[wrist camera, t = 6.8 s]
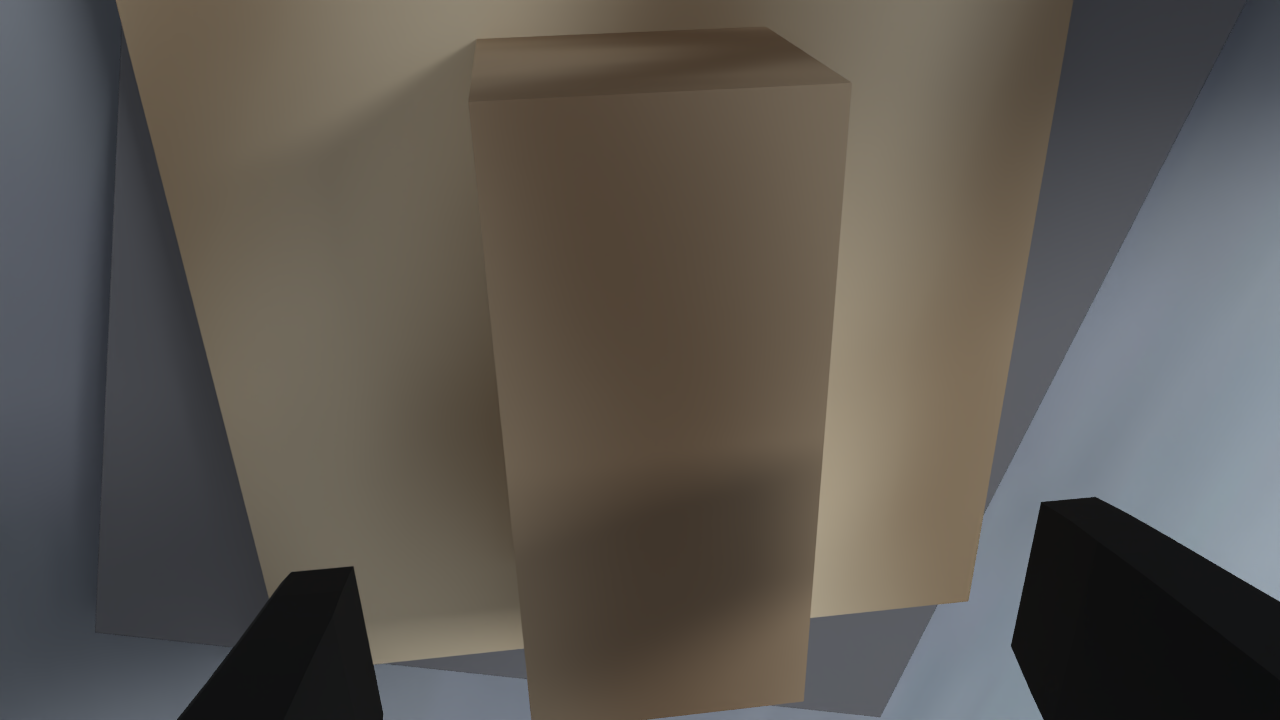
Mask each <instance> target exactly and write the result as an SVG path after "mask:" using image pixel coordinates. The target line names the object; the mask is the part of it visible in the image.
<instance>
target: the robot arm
mask: <svg viewBox="0 0 1280 720" xmlns="http://www.w3.org/2000/svg"><path fill="white" fill-rule="evenodd" d="M1011 647H1012V649H1013V652H1014V654H1015V656H1016V659H1017V661H1018V663H1019V666H1020V668H1021V670H1022V673H1023V675H1024V677H1025V680H1026V682H1027V684H1028V687H1029V689H1030V691H1031V694H1032V696H1033V698H1034V700H1035V702H1036V704H1037V706H1038V709H1039V711H1040V713H1041V715H1042V717H1043V719H1044V720H1280V602H1279V601H1278V600H1276V599H1274V598H1272V597H1271V596H1269V595H1267V594H1266V593H1264V592H1262V591H1260V590H1259V589H1257V588H1255V587H1253V586H1252V585H1250V584H1248V583H1247V582H1245V581H1243V580H1241V579H1240V578H1238V577H1236V576H1235V575H1233V574H1231V573H1229V572H1228V571H1226V570H1224V569H1223V568H1221V567H1219V566H1217V565H1216V564H1214V563H1212V562H1211V561H1209V560H1207V559H1205V558H1204V557H1202V556H1200V555H1199V554H1197V553H1195V552H1194V551H1192V550H1190V549H1188V548H1187V547H1185V546H1183V545H1182V544H1180V543H1178V542H1176V541H1175V540H1173V539H1171V538H1170V537H1168V536H1166V535H1164V534H1163V533H1161V532H1159V531H1157V530H1156V529H1154V528H1152V527H1150V526H1149V525H1147V524H1145V523H1143V522H1142V521H1140V520H1138V519H1136V518H1135V517H1133V516H1131V515H1129V514H1127V513H1125V512H1124V511H1122V510H1120V509H1118V508H1116V507H1114V506H1112V505H1110V504H1108V503H1106V502H1104V501H1102V500H1100V499H1098V498H1096V497H1091V498H1080V499H1069V500H1058V501H1048V502H1041V505H1040V510H1039V515H1038V520H1037V524H1036V529H1035V534H1034V539H1033V543H1032V548H1031V553H1030V558H1029V563H1028V567H1027V572H1026V577H1025V582H1024V586H1023V591H1022V596H1021V601H1020V606H1019V610H1018V615H1017V620H1016V625H1015V629H1014V634H1013V639H1012V644H1011ZM177 720H383V710H382V705H381V700H380V695H379V690H378V685H377V680H376V675H375V670H374V666H373V661H372V656H371V651H370V646H369V641H368V636H367V631H366V626H365V621H364V616H363V611H362V606H361V601H360V596H359V591H358V586H357V581H356V576H355V571H354V566H349V567H338V568H328V569H317V570H306V571H295V572H291V573H290V574H289V575H288V576H287V577H286V578H285V579H284V580H283V581H282V582H281V584H280V585H279V586H278V588H277V589H276V590H275V592H274V593H273V594H272V596H271V597H270V598H269V600H268V601H267V602H266V604H265V605H264V607H263V608H262V609H261V611H260V612H259V613H258V615H257V616H256V617H255V619H254V620H253V622H252V623H251V624H250V626H249V627H248V628H247V630H246V631H245V632H244V634H243V635H242V636H241V638H240V639H239V640H238V642H237V643H236V645H235V646H234V647H233V648H232V650H231V651H230V652H229V654H228V655H227V656H226V658H225V659H224V660H223V662H222V663H221V664H220V666H219V667H218V668H217V670H216V671H215V672H214V674H213V675H212V676H211V678H210V679H209V680H208V681H207V683H206V684H205V685H204V686H203V688H202V689H201V690H200V691H199V693H198V694H197V695H196V696H195V698H194V699H193V700H192V701H191V703H190V704H189V705H188V707H187V708H186V709H185V710H184V712H183V713H182V714H181V715H180V717H179V718H178V719H177Z"/></svg>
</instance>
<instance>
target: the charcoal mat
mask: <svg viewBox="0 0 1280 720" xmlns="http://www.w3.org/2000/svg"><path fill="white" fill-rule="evenodd" d="M1246 1H1247V0H1073V5H1072V11H1071V17H1070V22H1069V28H1068V34H1067V40H1066V45H1065V51H1064V57H1063V62H1062V68H1061V74H1060V80H1059V85H1058V91H1057V97H1056V103H1055V108H1054V114H1053V120H1052V125H1051V131H1050V137H1049V143H1048V148H1047V154H1046V160H1045V165H1044V171H1043V177H1042V183H1041V188H1040V194H1039V200H1038V205H1037V211H1036V217H1035V223H1034V228H1033V234H1032V240H1031V246H1030V251H1029V257H1028V263H1027V268H1026V274H1025V280H1024V286H1023V291H1022V297H1021V303H1020V308H1019V314H1018V320H1017V326H1016V331H1015V337H1014V343H1013V348H1012V354H1011V360H1010V366H1009V371H1008V377H1007V383H1006V389H1005V394H1004V400H1003V406H1002V411H1001V417H1000V423H999V429H998V434H997V440H996V446H995V451H994V457H993V463H992V469H991V474H990V480H989V486H988V491H987V497H986V503H985V509H984V513H985V511H986V509H987V507H988V505H989V504H990V502H991V500H992V498H993V496H994V494H995V492H996V490H997V488H998V486H999V484H1000V482H1001V480H1002V478H1003V476H1004V474H1005V472H1006V470H1007V468H1008V466H1009V464H1010V462H1011V461H1012V459H1013V457H1014V455H1015V453H1016V451H1017V449H1018V447H1019V445H1020V443H1021V441H1022V439H1023V437H1024V435H1025V433H1026V431H1027V429H1028V427H1029V425H1030V423H1031V421H1032V419H1033V418H1034V416H1035V414H1036V412H1037V410H1038V408H1039V406H1040V404H1041V402H1042V400H1043V398H1044V396H1045V394H1046V392H1047V390H1048V388H1049V386H1050V384H1051V382H1052V380H1053V378H1054V376H1055V375H1056V373H1057V371H1058V369H1059V367H1060V365H1061V363H1062V361H1063V359H1064V357H1065V355H1066V353H1067V351H1068V349H1069V347H1070V345H1071V343H1072V341H1073V339H1074V337H1075V335H1076V334H1077V332H1078V330H1079V328H1080V326H1081V324H1082V322H1083V320H1084V318H1085V316H1086V314H1087V312H1088V310H1089V308H1090V306H1091V304H1092V302H1093V300H1094V298H1095V296H1096V294H1097V292H1098V291H1099V289H1100V287H1101V285H1102V283H1103V281H1104V279H1105V277H1106V275H1107V273H1108V271H1109V269H1110V267H1111V265H1112V263H1113V261H1114V259H1115V257H1116V255H1117V253H1118V251H1119V249H1120V248H1121V246H1122V244H1123V242H1124V240H1125V238H1126V236H1127V234H1128V232H1129V230H1130V228H1131V226H1132V224H1133V222H1134V220H1135V218H1136V216H1137V214H1138V212H1139V210H1140V208H1141V206H1142V205H1143V203H1144V201H1145V199H1146V197H1147V195H1148V193H1149V191H1150V189H1151V187H1152V185H1153V183H1154V181H1155V179H1156V177H1157V175H1158V173H1159V171H1160V169H1161V167H1162V165H1163V164H1164V162H1165V160H1166V158H1167V156H1168V154H1169V152H1170V150H1171V148H1172V146H1173V144H1174V142H1175V140H1176V138H1177V136H1178V134H1179V132H1180V130H1181V128H1182V126H1183V124H1184V122H1185V121H1186V119H1187V117H1188V115H1189V113H1190V111H1191V109H1192V107H1193V105H1194V103H1195V101H1196V99H1197V97H1198V95H1199V93H1200V91H1201V89H1202V87H1203V85H1204V83H1205V81H1206V79H1207V78H1208V76H1209V74H1210V72H1211V70H1212V68H1213V66H1214V64H1215V62H1216V60H1217V58H1218V56H1219V54H1220V52H1221V50H1222V48H1223V46H1224V44H1225V42H1226V40H1227V38H1228V36H1229V35H1230V33H1231V31H1232V29H1233V27H1234V25H1235V23H1236V21H1237V19H1238V17H1239V15H1240V13H1241V11H1242V9H1243V7H1244V5H1245V3H1246ZM983 515H984V514H983ZM268 600H269V596H268V592H267V589H266V585H265V581H264V577H263V573H262V569H261V565H260V561H259V557H258V553H257V550H256V546H255V542H254V538H253V534H252V530H251V526H250V522H249V518H248V514H247V511H246V507H245V503H244V499H243V495H242V491H241V487H240V483H239V479H238V475H237V472H236V468H235V464H234V460H233V456H232V452H231V448H230V444H229V440H228V436H227V433H226V429H225V425H224V421H223V417H222V413H221V409H220V405H219V401H218V397H217V394H216V390H215V386H214V382H213V378H212V374H211V370H210V366H209V362H208V358H207V355H206V351H205V347H204V343H203V339H202V335H201V331H200V327H199V323H198V319H197V316H196V312H195V308H194V304H193V300H192V296H191V292H190V288H189V284H188V280H187V277H186V273H185V269H184V265H183V261H182V257H181V253H180V249H179V245H178V241H177V238H176V234H175V230H174V226H173V222H172V218H171V214H170V210H169V206H168V202H167V199H166V195H165V191H164V187H163V183H162V179H161V175H160V171H159V167H158V163H157V160H156V156H155V152H154V148H153V144H152V140H151V136H150V132H149V128H148V124H147V121H146V117H145V113H144V109H143V105H142V101H141V97H140V93H139V89H138V85H137V82H136V78H135V74H134V70H133V66H132V62H131V58H130V54H129V50H128V46H127V43H126V39H125V35H124V31H123V27H122V33H121V56H120V78H119V101H118V124H117V146H116V169H115V192H114V214H113V237H112V260H111V282H110V305H109V328H108V350H107V373H106V396H105V418H104V441H103V464H102V486H101V509H100V532H99V554H98V577H97V600H96V622H95V632H96V633H105V634H115V635H124V636H133V637H142V638H152V639H161V640H170V641H179V642H189V643H198V644H207V645H216V646H226V647H234V646H235V645H236V643H237V642H238V640H239V639H240V638H241V636H242V635H243V634H244V632H245V631H246V630H247V628H248V627H249V626H250V624H251V623H252V622H253V620H254V619H255V617H256V616H257V615H258V613H259V612H260V611H261V609H262V608H263V607H264V605H265V604H266V602H267V601H268ZM937 605H938V604H937ZM937 605H928V606H919V607H909V608H900V609H890V610H881V611H872V612H862V613H853V614H843V615H834V616H825V617H815V618H810V627H809V640H808V653H807V666H806V679H805V691H804V701H803V702H795V703H786V704H777V705H772V706H781V707H790V708H799V709H809V710H818V711H827V712H837V713H846V714H855V715H864V716H874V717H881V715H882V713H883V711H884V709H885V707H886V705H887V703H888V701H889V699H890V697H891V695H892V693H893V691H894V689H895V687H896V685H897V683H898V681H899V679H900V677H901V675H902V674H903V672H904V670H905V668H906V666H907V664H908V662H909V660H910V658H911V656H912V654H913V652H914V650H915V648H916V646H917V644H918V642H919V640H920V638H921V636H922V634H923V632H924V631H925V629H926V627H927V625H928V623H929V621H930V619H931V617H932V615H933V613H934V611H935V609H936V607H937ZM383 664H392V665H401V666H411V667H420V668H429V669H438V670H448V671H457V672H466V673H476V674H485V675H494V676H503V677H513V678H522V679H527V672H526V662H525V652H524V649H515V650H505V651H496V652H486V653H477V654H468V655H458V656H449V657H439V658H430V659H421V660H411V661H402V662H393V663H383Z"/></svg>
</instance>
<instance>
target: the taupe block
mask: <svg viewBox="0 0 1280 720" xmlns="http://www.w3.org/2000/svg"><path fill="white" fill-rule="evenodd" d="M116 3H117V7H118V11H119V15H120V19H121V23H122V27H123V31H124V35H125V39H126V43H127V46H128V50H129V54H130V58H131V62H132V66H133V70H134V74H135V78H136V82H137V85H138V89H139V93H140V97H141V101H142V105H143V109H144V113H145V117H146V121H147V124H148V128H149V132H150V136H151V140H152V144H153V148H154V152H155V156H156V160H157V163H158V167H159V171H160V175H161V179H162V183H163V187H164V191H165V195H166V199H167V202H168V206H169V210H170V214H171V218H172V222H173V226H174V230H175V234H176V238H177V241H178V245H179V249H180V253H181V257H182V261H183V265H184V269H185V273H186V277H187V280H188V284H189V288H190V292H191V296H192V300H193V304H194V308H195V312H196V316H197V319H198V323H199V327H200V331H201V335H202V339H203V343H204V347H205V351H206V355H207V358H208V362H209V366H210V370H211V374H212V378H213V382H214V386H215V390H216V394H217V397H218V401H219V405H220V409H221V413H222V417H223V421H224V425H225V429H226V433H227V436H228V440H229V444H230V448H231V452H232V456H233V460H234V464H235V468H236V472H237V475H238V479H239V483H240V487H241V491H242V495H243V499H244V503H245V507H246V511H247V514H248V518H249V522H250V526H251V530H252V534H253V538H254V542H255V546H256V550H257V553H258V557H259V561H260V565H261V569H262V573H263V577H264V581H265V585H266V589H267V592H268V596H269V598H270V597H271V596H272V594H273V593H274V592H275V590H276V589H277V588H278V586H279V585H280V584H281V582H282V581H283V580H284V579H285V578H286V577H287V576H288V575H289V574H290V573H291V572H295V571H306V570H317V569H328V568H338V567H349V566H354V571H355V576H356V581H357V586H358V591H359V596H360V601H361V606H362V611H363V616H364V621H365V626H366V631H367V636H368V641H369V646H370V651H371V656H372V661H373V665H374V664H383V663H393V662H402V661H411V660H421V659H430V658H439V657H449V656H458V655H468V654H477V653H486V652H496V651H505V650H515V649H524V652H525V662H526V672H527V681H528V691H529V701H530V711H531V720H647V719H656V718H664V717H673V716H682V715H690V714H699V713H708V712H716V711H725V710H734V709H742V708H751V707H760V706H768V705H777V704H786V703H795V702H803V701H804V691H805V679H806V666H807V653H808V640H809V627H810V618H815V617H825V616H834V615H843V614H853V613H862V612H872V611H881V610H890V609H900V608H909V607H919V606H928V605H937V604H947V603H956V602H966V601H968V600H969V594H970V589H971V583H972V577H973V572H974V566H975V560H976V554H977V549H978V543H979V537H980V532H981V526H982V520H983V514H984V509H985V503H986V497H987V491H988V486H989V480H990V474H991V469H992V463H993V457H994V451H995V446H996V440H997V434H998V429H999V423H1000V417H1001V411H1002V406H1003V400H1004V394H1005V389H1006V383H1007V377H1008V371H1009V366H1010V360H1011V354H1012V348H1013V343H1014V337H1015V331H1016V326H1017V320H1018V314H1019V308H1020V303H1021V297H1022V291H1023V286H1024V280H1025V274H1026V268H1027V263H1028V257H1029V251H1030V246H1031V240H1032V234H1033V228H1034V223H1035V217H1036V211H1037V205H1038V200H1039V194H1040V188H1041V183H1042V177H1043V171H1044V165H1045V160H1046V154H1047V148H1048V143H1049V137H1050V131H1051V125H1052V120H1053V114H1054V108H1055V103H1056V97H1057V91H1058V85H1059V80H1060V74H1061V68H1062V62H1063V57H1064V51H1065V45H1066V40H1067V34H1068V28H1069V22H1070V17H1071V11H1072V5H1073V0H116Z"/></svg>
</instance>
